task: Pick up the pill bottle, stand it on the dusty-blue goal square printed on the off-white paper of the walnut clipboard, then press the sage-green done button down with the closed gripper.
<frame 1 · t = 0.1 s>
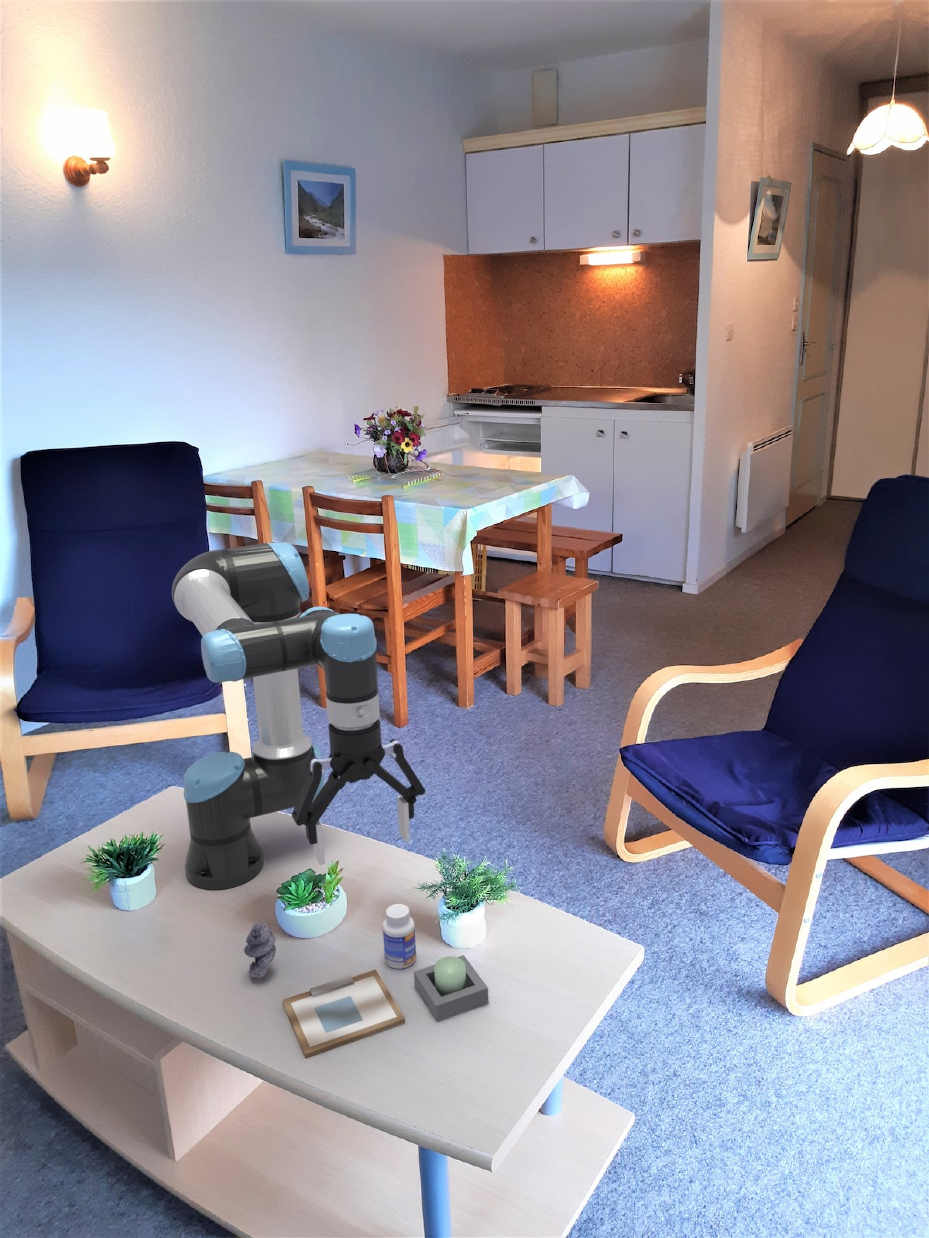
hand: (363, 848, 144), 28 cm above the table, fingers open, 13 cm apart
seashell: (263, 975, 160), on the table
pill bottle: (400, 960, 163), on the table
clipboard: (342, 1013, 150), on the table
button housing: (451, 994, 154), on the table
done button: (450, 976, 153), point 4 cm above the table, slide at 0.0 cm
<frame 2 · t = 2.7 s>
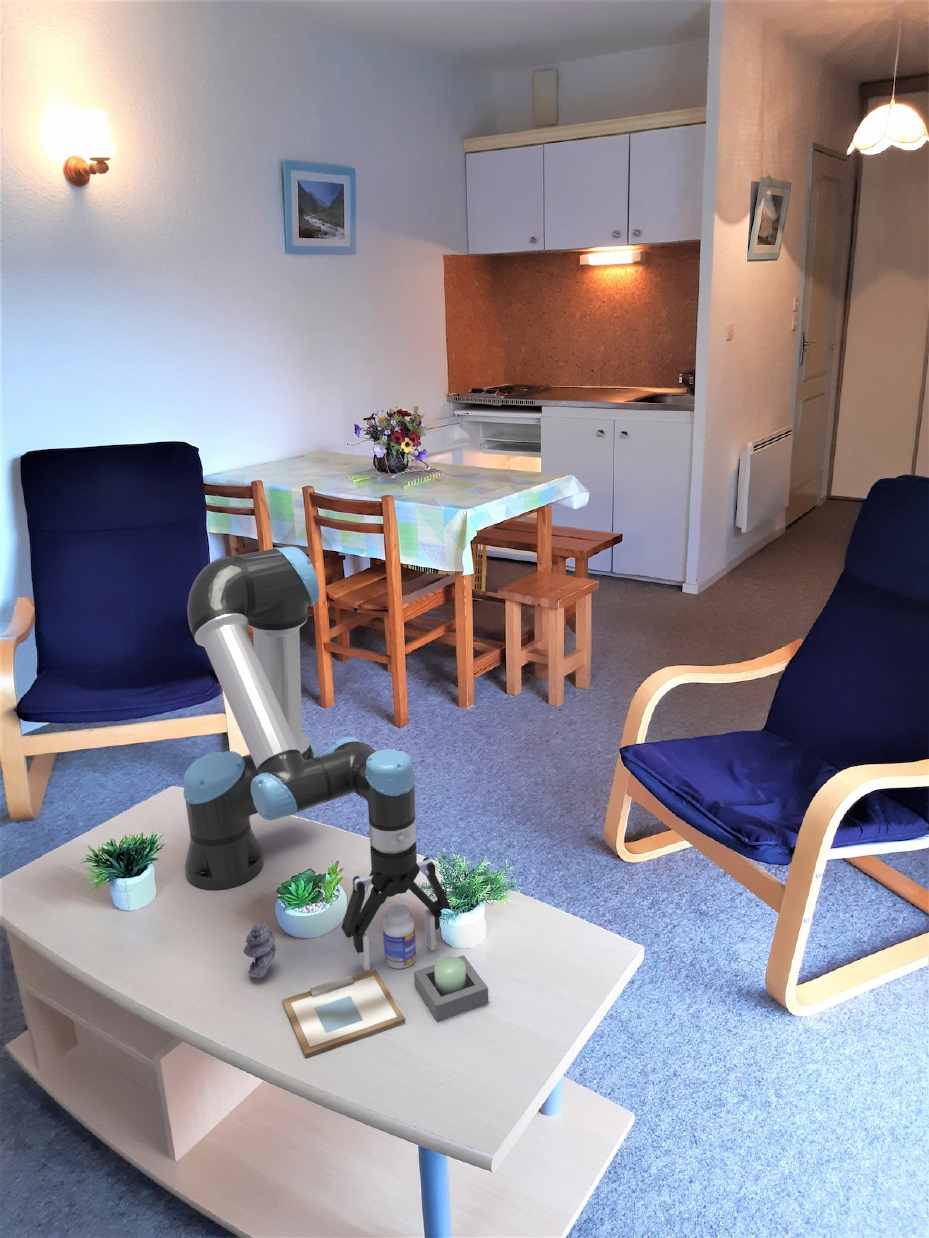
hand: (398, 955, 162), 1 cm above the table, fingers open, 11 cm apart
nothing on the table moved.
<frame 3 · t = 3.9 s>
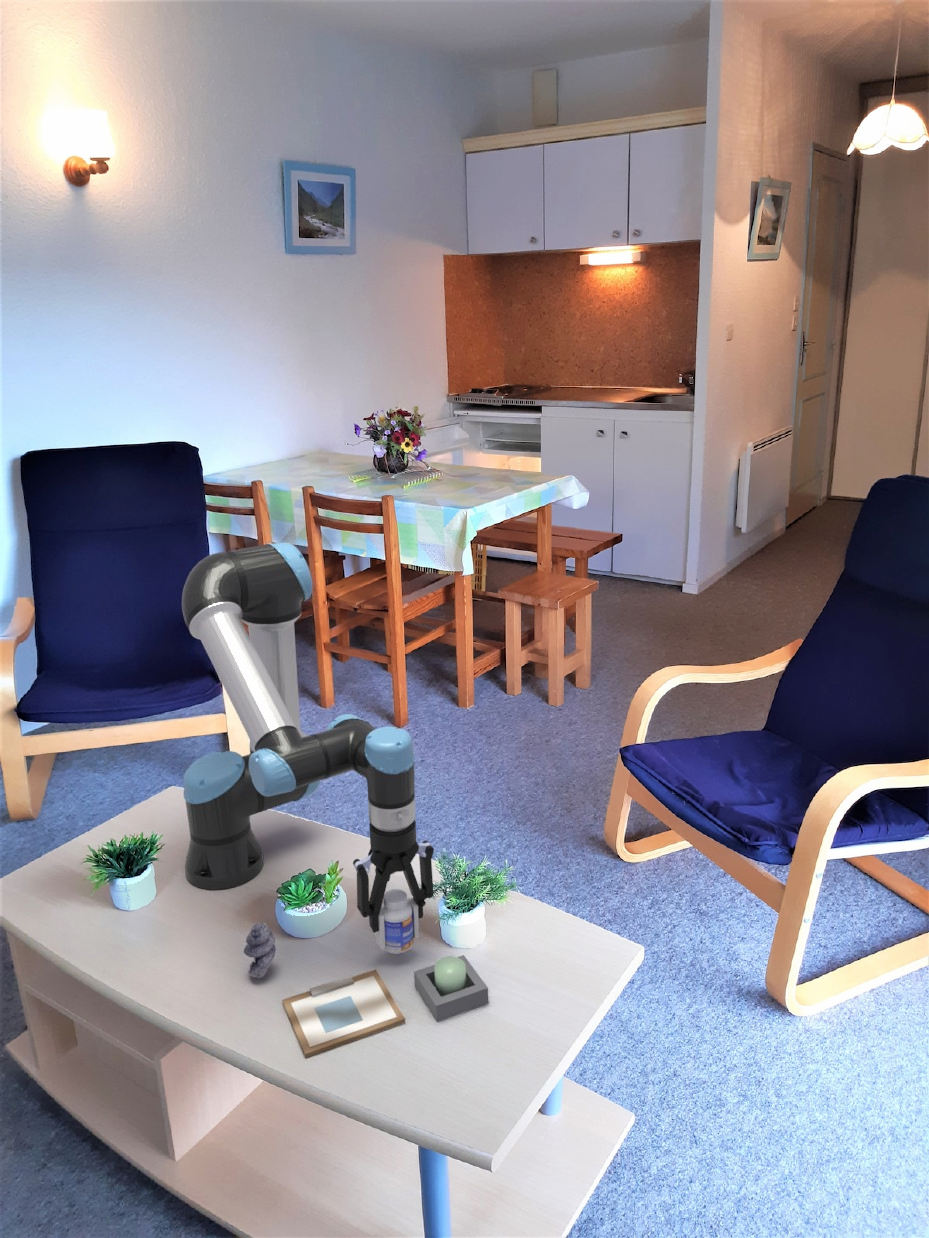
hand: (397, 938, 162), 4 cm above the table, fingers closed on pill bottle, 5 cm apart
pill bottle: (398, 944, 162), point 2 cm above the table, touching gripper
everything else where it was.
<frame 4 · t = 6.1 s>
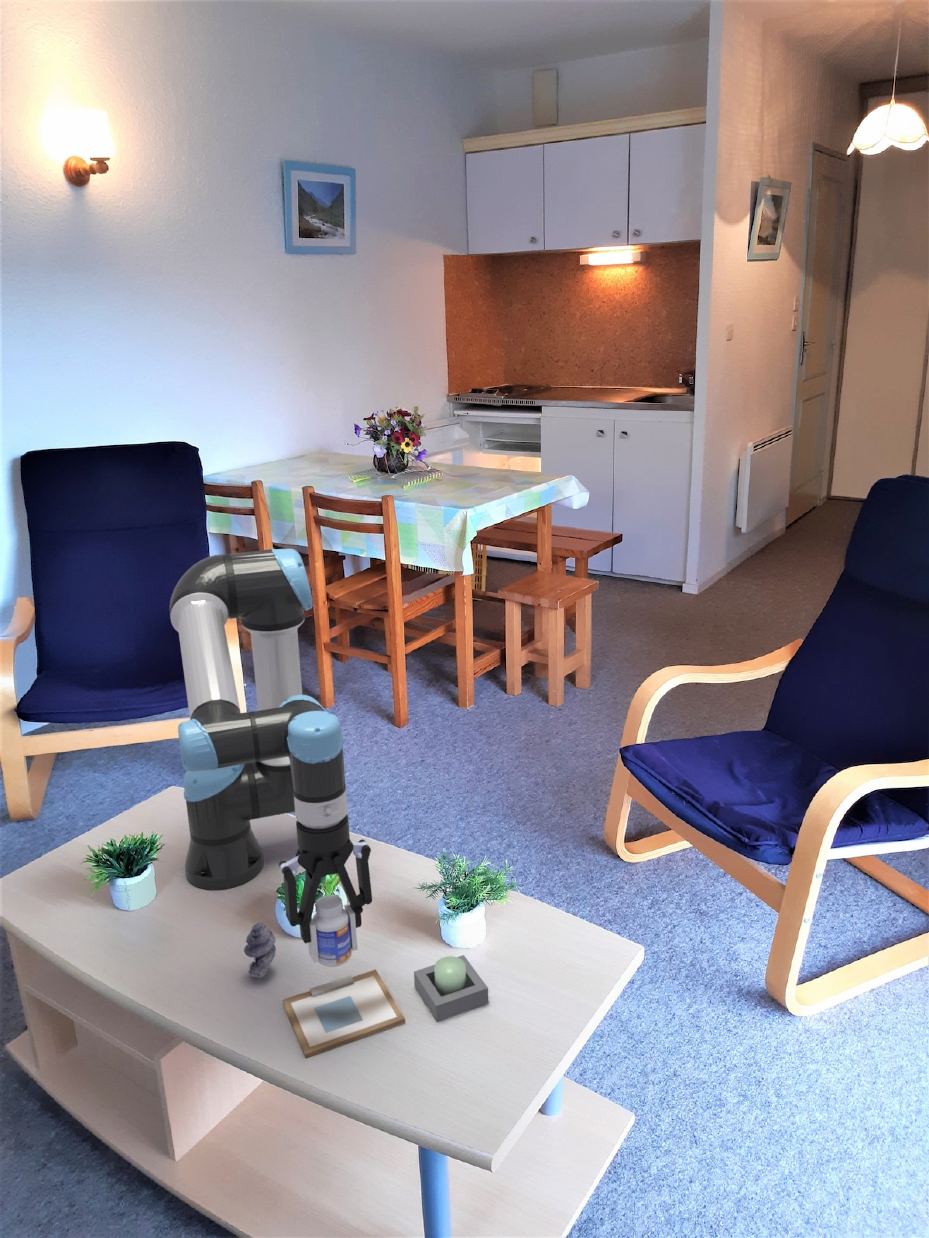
hand: (333, 950, 145), 13 cm above the table, fingers closed on pill bottle, 5 cm apart
pill bottle: (334, 957, 145), point 12 cm above the table, touching gripper
everything else where it was.
when the fingers open (2 cm above the table, at t = 8.2 s): pill bottle stays where it is, resting on clipboard.
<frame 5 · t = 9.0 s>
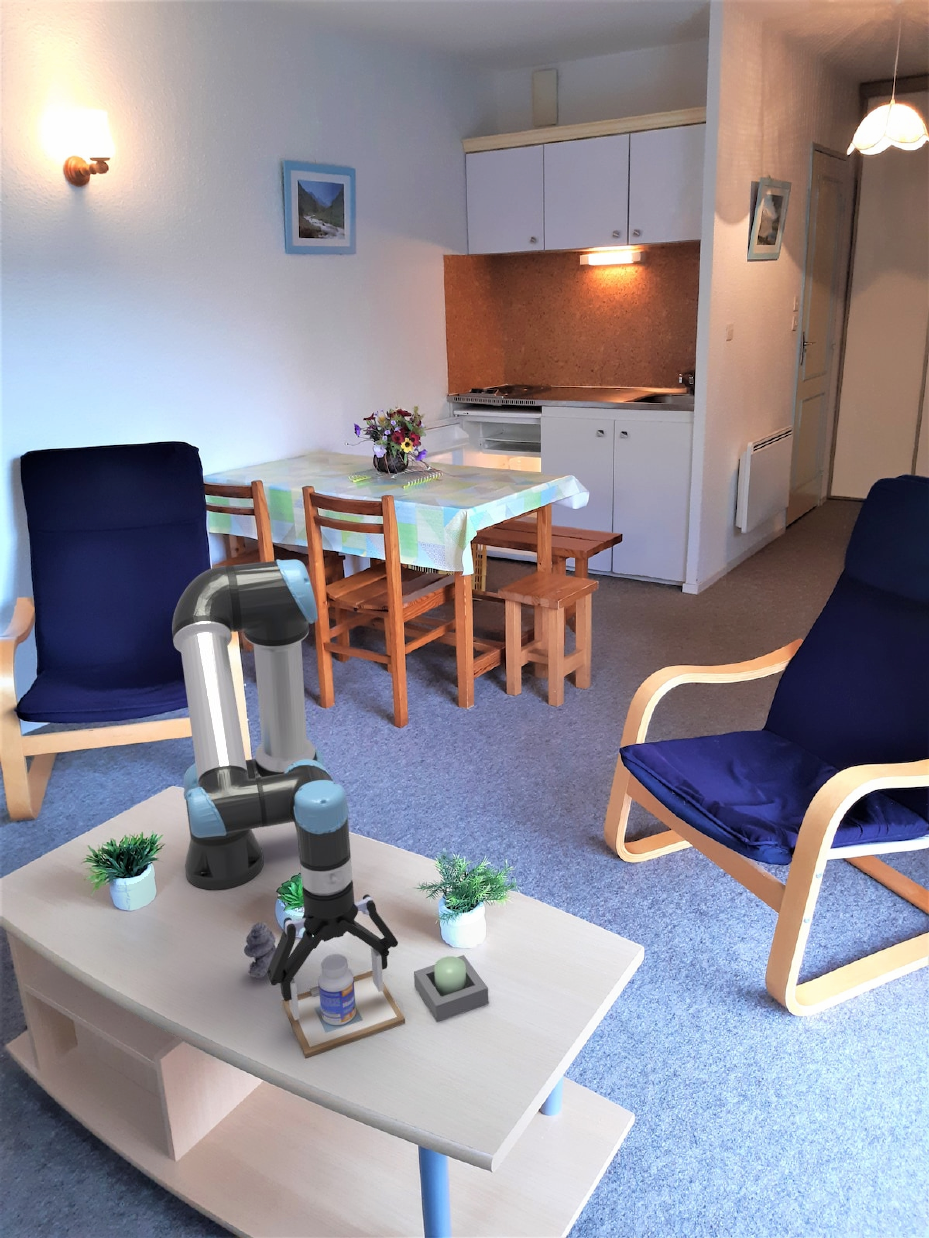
hand: (337, 999, 148), 4 cm above the table, fingers open, 13 cm apart
pill bottle: (339, 1014, 149), point 1 cm above the table, touching clipboard
everything else where it was.
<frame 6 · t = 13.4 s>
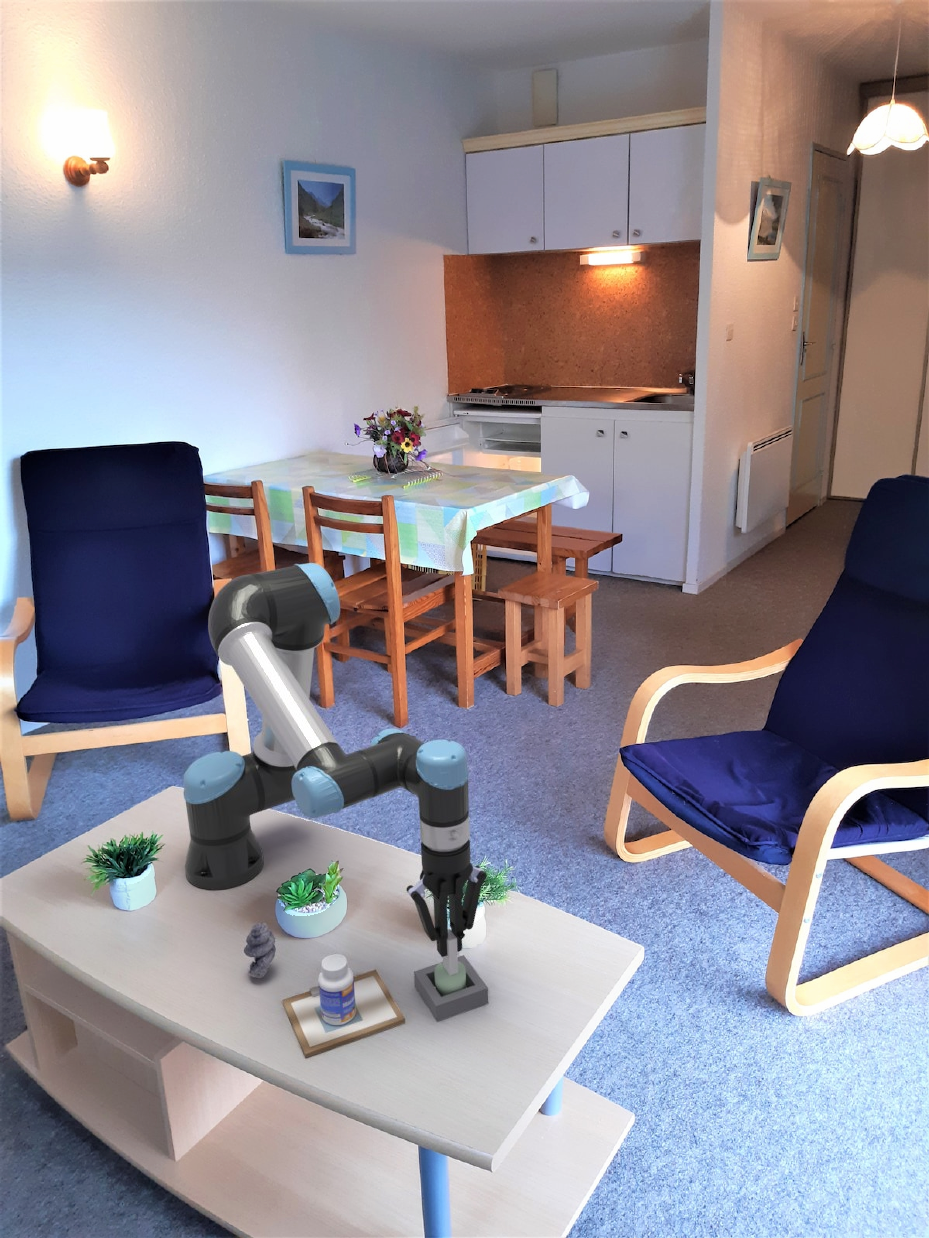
hand: (450, 968, 152), 5 cm above the table, fingers closed
done button: (450, 980, 153), point 3 cm above the table, slide at 0.7 cm, touching gripper
everything else where it was.
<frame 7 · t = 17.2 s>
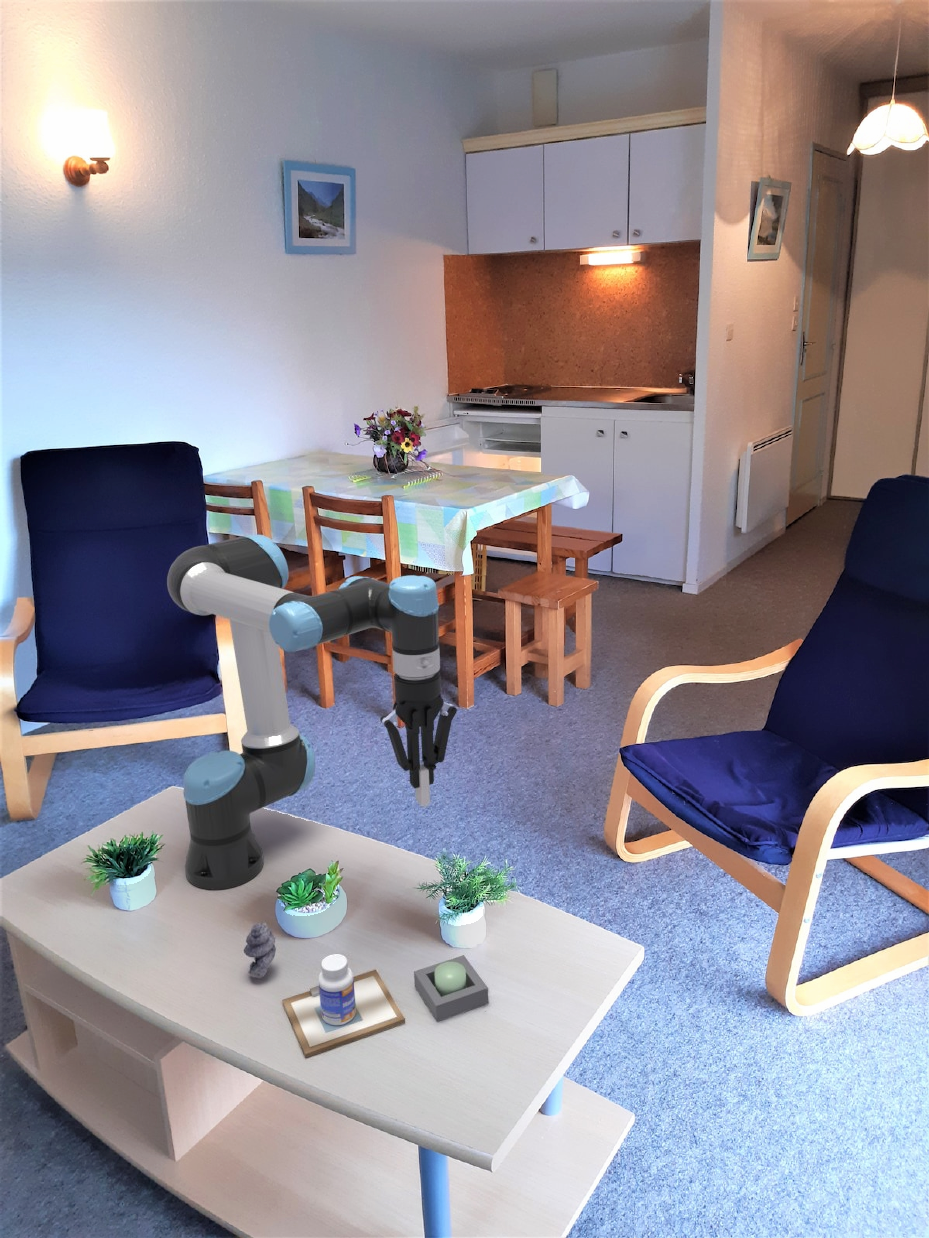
hand: (422, 802, 160), 26 cm above the table, fingers closed
done button: (450, 982, 153), point 2 cm above the table, slide at 1.0 cm
everything else where it was.
at the end: pill bottle inside the target area (0.1 cm from its centre), point 0.9 cm above the table; pill bottle tilted 0°; done button slide at 1.0 cm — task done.
